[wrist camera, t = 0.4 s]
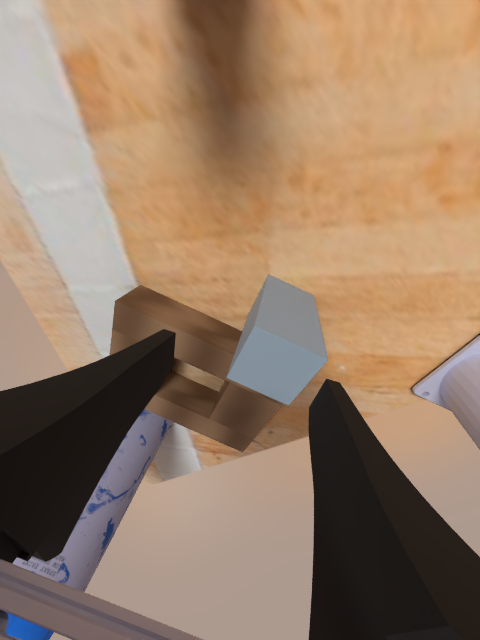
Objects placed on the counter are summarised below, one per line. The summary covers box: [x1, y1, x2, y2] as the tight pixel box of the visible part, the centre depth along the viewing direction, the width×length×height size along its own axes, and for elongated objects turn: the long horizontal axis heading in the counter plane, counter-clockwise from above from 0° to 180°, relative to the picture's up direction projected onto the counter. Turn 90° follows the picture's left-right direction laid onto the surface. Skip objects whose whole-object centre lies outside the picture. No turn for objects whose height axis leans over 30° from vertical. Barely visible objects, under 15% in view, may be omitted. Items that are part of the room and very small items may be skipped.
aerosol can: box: [6, 409, 173, 640], centre depth 22 cm, size 8×8×20 cm
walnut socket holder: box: [110, 285, 284, 452], centre depth 22 cm, size 16×12×4 cm
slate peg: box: [226, 274, 328, 406], centre depth 15 cm, size 4×4×8 cm
